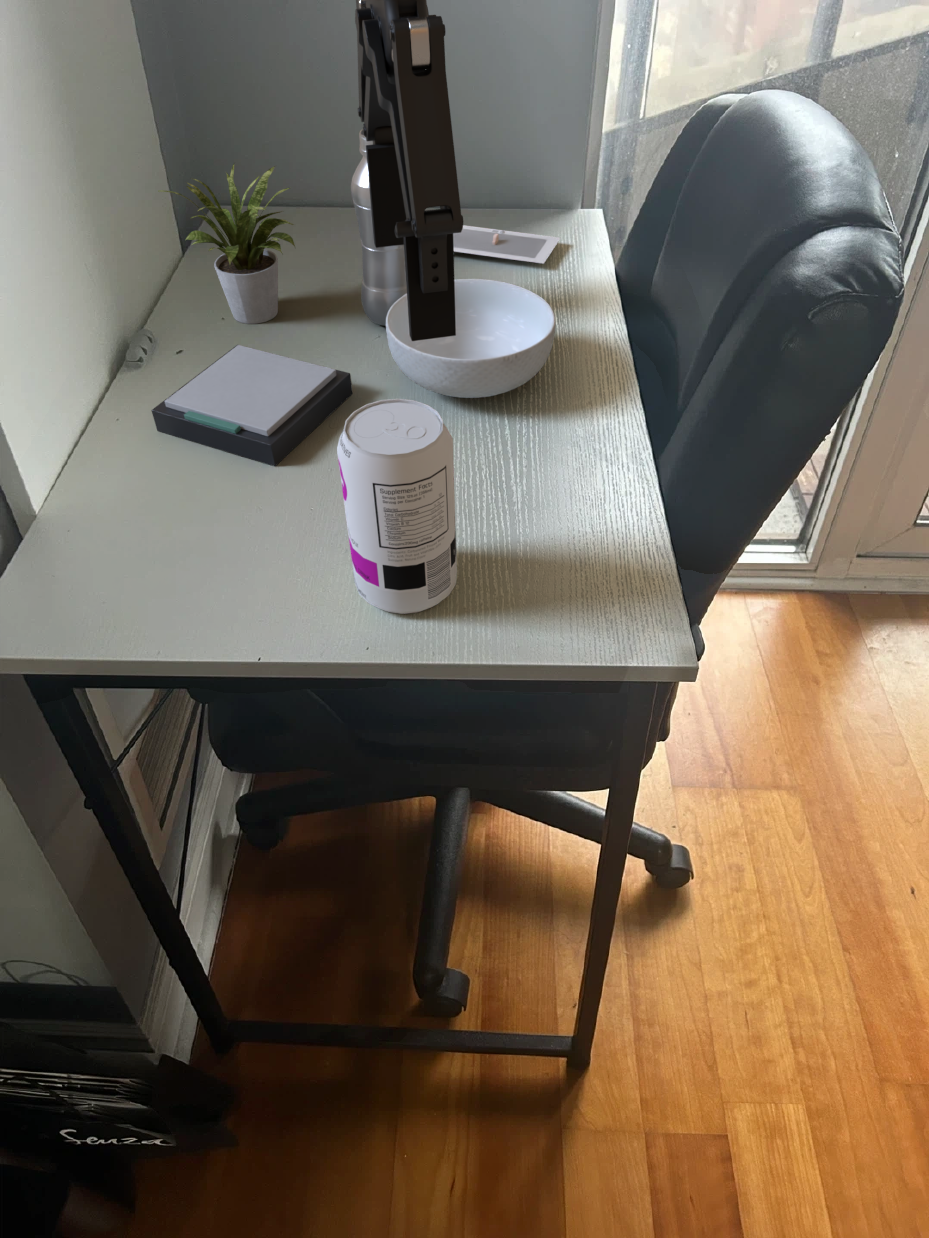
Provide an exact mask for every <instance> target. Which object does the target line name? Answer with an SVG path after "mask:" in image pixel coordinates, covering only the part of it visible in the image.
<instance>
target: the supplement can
mask: <svg viewBox="0 0 929 1238" xmlns="http://www.w3.org/2000/svg"><path fill="white" fill-rule="evenodd" d="M336 453H337V461H338V469H339V476H340V483H341V491H342V499H343V507H344V512H345V520H346V529H347V535H348V542H349V550H350V557H351V565H352V572H353V579H354V580H353V581H354V585H355V587H356V590H357V594H358V595H359V596H360V597H361V598H363V600H364V601H365V602H366V603H367V604H369V605H370V606H373V607H376V608H378V609H380V610H383V611H385V612H387V613H394V614H399V615H400V614H402V615H404V614H405V615H406V614H416V613H420V612H423V611H425V610H429V609H432V608H433V607H434V606H437V605H438V604H440V603H441V602H442V601H444V600H445V599H446V598H447V597H449V596H450V594H451V593H452V592H453V589H454V588H455V586H456V585H457V575H458V566H457V565H458V563H457V560H458V559H457V533H456V531H457V529H456V499H455V495H456V494H455V468H454V467H455V466H454V461H455V460H454V438H453V436H452V434H451V432H450V431H449V429H448V427H447V426H446V424H445V423H444V420H443V418H442V416H441V414H440V412H439V411H438V410H436V409H435V408H434V407H432V406H431V405H429V404H427V403H424V402H421V401H419V400H418V401H417V400H415V399H407V398H406V399H405V398H391V399H381V400H376V401H374V402H369V403H366V404H365V405H363V406H361V407H359V408H357V409H355V410H354V411H353V412H352V413H351V414H350V415H349V416H348V417H347V418H346V419H345V422H344V426H343V430H342V432H341V434H340V436H339V438H338V443H337V447H336Z"/></svg>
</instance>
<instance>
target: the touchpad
mask: <svg viewBox="0 0 929 1238" xmlns="http://www.w3.org/2000/svg"><path fill="white" fill-rule="evenodd" d="M561 238H562V237H560V236H559V237H558V236H552V235H551V236H550V235H544V234H543V235H542V234H536V233H535V234H534V233H528V232H527V233H526V232H521V231H520V232H518V231H511V230H504V229H497V228H488V227H481V226H480V227H479V226H472V225H465V224H463V229H462V232H461V233H453V244H454V253H464V254H470V255H477V256H484V257H492V258H498V259H505V260H515V261H521V262H528V263H529V262H530V263H536V264H543V265H544V264H545V262H546V261H547V260H548V258H549V257H550V255H551V254H552V252H553V251H554V249H555V248H556V246H557V245H558V244H559V242H560V240H561Z"/></svg>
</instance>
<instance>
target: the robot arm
mask: <svg viewBox="0 0 929 1238" xmlns="http://www.w3.org/2000/svg"><path fill="white" fill-rule="evenodd" d="M355 6H356V7H355V11H354V12H355V13H354V16H355V17H354V22H355V23H354V24H355V27H356V41H357V42H356V43H357V45H356V46H357V48H356V49H357V75H358V76H357V81H358V82H357V83H358V107H357V116H358V117H359V119H360V122H361V123H363V125H362V129H363V135H364V136H365V137H366V141H373V145H366V154H367V166H368V177H369V189H370V201H371V212H372V224H373V236H374V244H375V247H376V248H379V247H387V246H396V245H404V255H405V271H406V286H407V302H408V318H409V334H410V338H411V340H412V341H418V340H426V339H433V338H441V337H449V336H456V321H455V282H454V280H455V251H454V244H453V233H461V232H462V229H463V225H464V216H463V214H462V208H461V199H460V189H459V179H458V171H457V162H456V154H455V144H454V136H453V135H454V134H453V133H454V132H453V127H452V117H451V108H450V98H449V89H448V80H447V71H446V70H447V68H446V52H445V51H446V47H445V36H446V25H445V23H444V21H443V17H442V15H437V14H430V13H429V7H428V3H427V0H355ZM436 207H439V208H436ZM429 208H435V209H429ZM426 209H427V210H426Z"/></svg>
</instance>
